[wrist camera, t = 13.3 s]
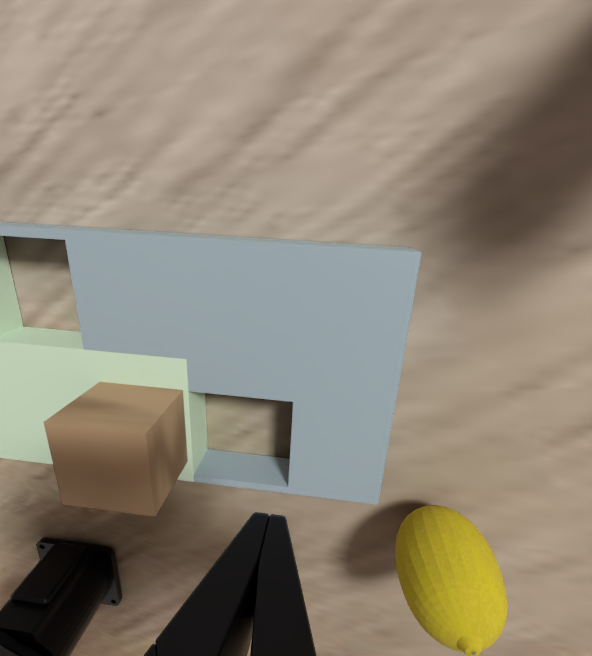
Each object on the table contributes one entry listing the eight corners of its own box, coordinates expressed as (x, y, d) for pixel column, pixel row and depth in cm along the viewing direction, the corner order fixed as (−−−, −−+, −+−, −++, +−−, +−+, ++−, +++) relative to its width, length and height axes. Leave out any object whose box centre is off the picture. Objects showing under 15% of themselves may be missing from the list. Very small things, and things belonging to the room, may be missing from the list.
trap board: (373, 474, 22) (379, 511, 20) (4, 431, 25) (-39, 459, 22) (409, 247, 18) (424, 253, 15) (-55, 218, 20) (-120, 218, 17)
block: (187, 461, 20) (155, 516, 17) (110, 452, 21) (62, 504, 17) (183, 390, 19) (145, 433, 15) (99, 381, 19) (43, 422, 16)
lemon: (472, 536, 23) (540, 689, 16) (392, 542, 24) (419, 690, 17) (465, 472, 22) (536, 610, 14) (379, 482, 23) (403, 616, 15)
